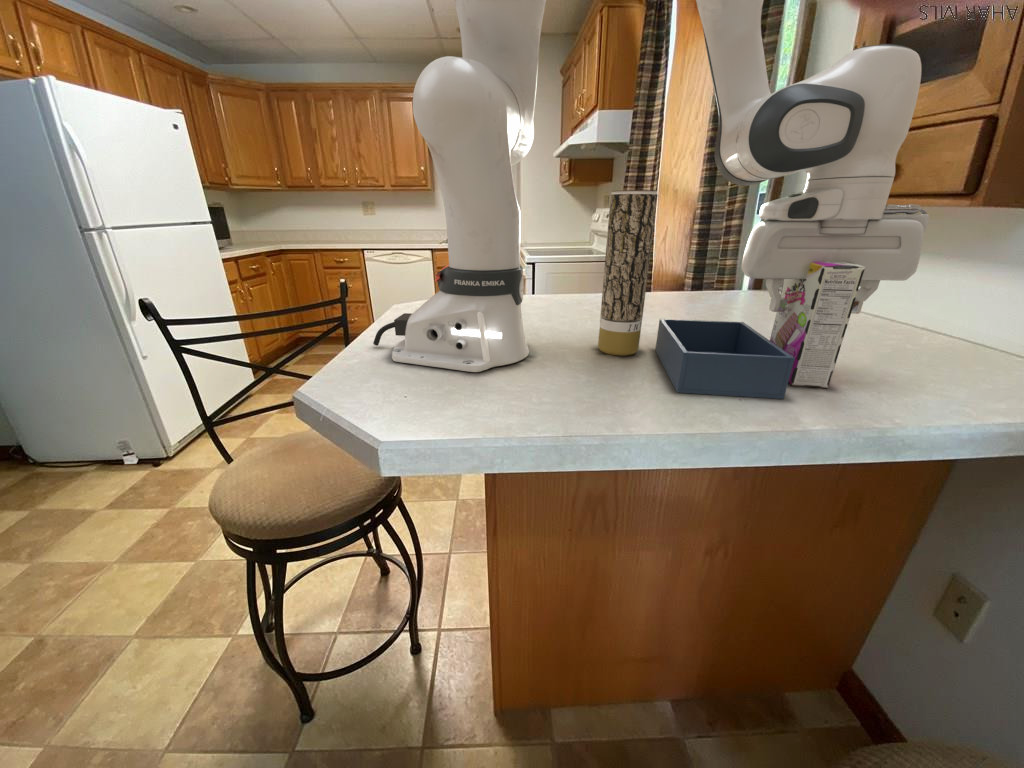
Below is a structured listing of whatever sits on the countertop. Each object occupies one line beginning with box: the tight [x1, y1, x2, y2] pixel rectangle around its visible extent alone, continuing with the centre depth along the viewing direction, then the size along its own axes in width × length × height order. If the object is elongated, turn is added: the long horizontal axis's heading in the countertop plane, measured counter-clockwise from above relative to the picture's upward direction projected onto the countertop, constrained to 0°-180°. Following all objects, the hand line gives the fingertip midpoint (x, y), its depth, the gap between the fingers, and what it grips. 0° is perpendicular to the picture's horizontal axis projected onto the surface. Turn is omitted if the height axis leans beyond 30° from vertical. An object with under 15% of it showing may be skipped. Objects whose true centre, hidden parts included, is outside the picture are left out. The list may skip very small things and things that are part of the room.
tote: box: [654, 318, 795, 400], centre depth 62 cm, size 13×18×6 cm
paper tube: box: [597, 189, 659, 357], centre depth 68 cm, size 7×7×25 cm
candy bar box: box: [769, 262, 866, 389], centre depth 60 cm, size 11×5×16 cm, turn 168°
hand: (812, 312), depth 59 cm, fingers open, 8 cm apart
